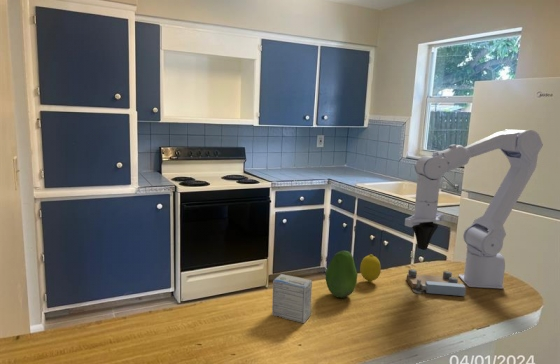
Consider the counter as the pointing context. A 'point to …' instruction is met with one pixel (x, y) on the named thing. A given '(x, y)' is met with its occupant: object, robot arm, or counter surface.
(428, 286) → the hinged leg
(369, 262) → the lemon
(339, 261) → the avocado
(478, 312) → the counter surface
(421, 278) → the board
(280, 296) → the medicine box
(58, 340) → the counter surface
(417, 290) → the pivot pin
